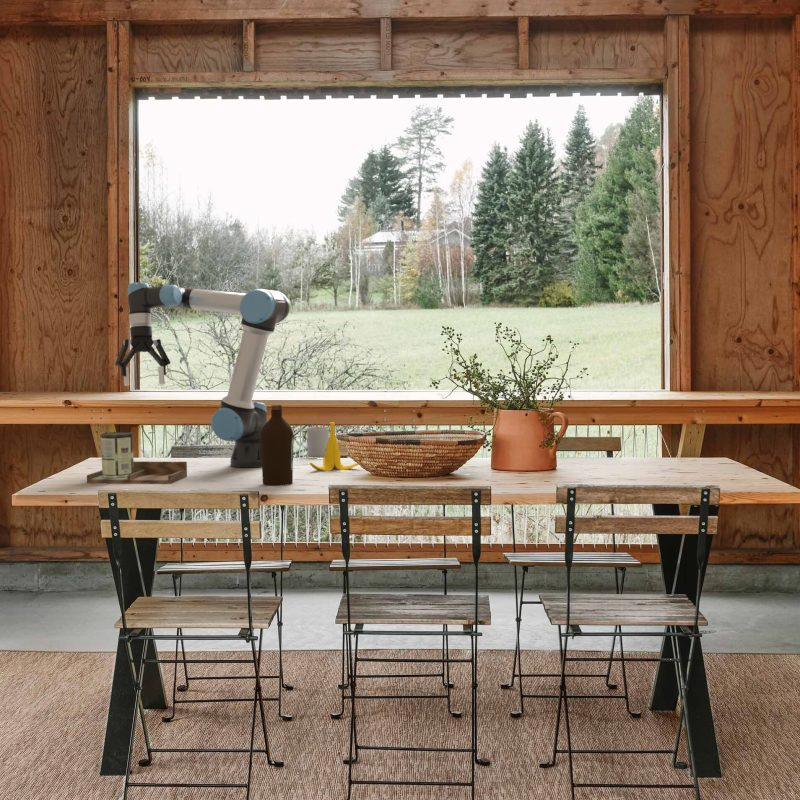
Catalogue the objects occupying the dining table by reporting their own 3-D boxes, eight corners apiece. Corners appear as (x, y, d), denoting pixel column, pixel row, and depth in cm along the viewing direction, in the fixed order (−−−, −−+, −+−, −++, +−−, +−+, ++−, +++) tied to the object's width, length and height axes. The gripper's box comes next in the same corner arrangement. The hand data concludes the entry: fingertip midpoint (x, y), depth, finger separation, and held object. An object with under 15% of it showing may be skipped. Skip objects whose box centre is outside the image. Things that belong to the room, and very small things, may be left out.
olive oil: (264, 487, 305) (263, 406, 303) (257, 482, 315) (256, 404, 313) (298, 485, 308) (296, 405, 307) (290, 480, 318) (288, 403, 317)
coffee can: (114, 473, 330) (113, 431, 330) (140, 474, 327) (139, 432, 326) (95, 477, 321) (93, 434, 320) (121, 478, 317) (120, 435, 317)
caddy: (187, 476, 330) (186, 461, 330) (171, 483, 314) (171, 467, 314) (106, 475, 333) (106, 461, 332) (87, 482, 317) (86, 467, 316)
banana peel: (308, 472, 338) (308, 424, 337) (324, 465, 357) (323, 419, 356) (355, 473, 335) (354, 424, 334) (368, 466, 353) (367, 420, 352)
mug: (323, 457, 379) (323, 429, 378) (303, 457, 382) (303, 428, 381) (336, 454, 390) (335, 426, 390) (316, 453, 393) (316, 426, 392)
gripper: (167, 327, 364) (171, 384, 363) (103, 327, 347) (107, 386, 347) (177, 325, 358) (181, 383, 358) (112, 324, 342) (116, 385, 341)
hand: (144, 385), depth 352 cm, fingers open, 13 cm apart
